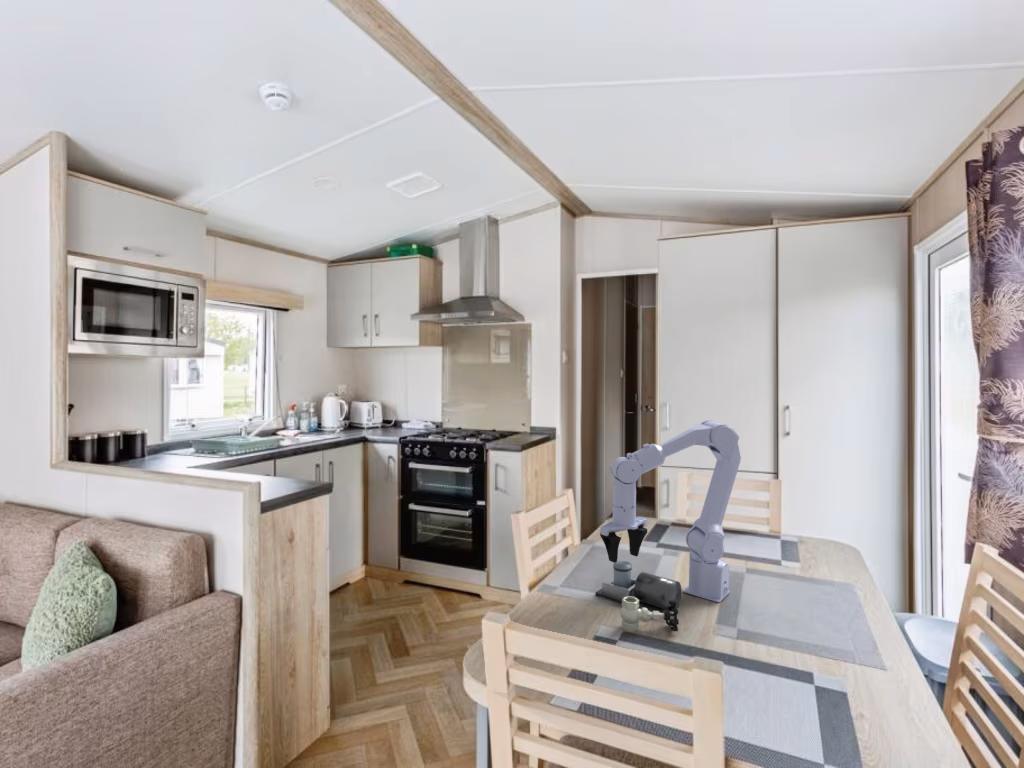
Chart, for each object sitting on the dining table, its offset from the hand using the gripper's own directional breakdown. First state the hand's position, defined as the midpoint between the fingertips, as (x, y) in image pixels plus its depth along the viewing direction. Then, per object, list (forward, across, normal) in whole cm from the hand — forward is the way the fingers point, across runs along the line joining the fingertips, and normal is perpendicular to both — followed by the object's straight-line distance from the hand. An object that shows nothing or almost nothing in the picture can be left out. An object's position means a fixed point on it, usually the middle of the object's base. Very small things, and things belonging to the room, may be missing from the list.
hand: (623, 558), depth 140 cm
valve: (+10, -8, -16) cm, 20 cm away
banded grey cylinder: (+9, 0, 0) cm, 9 cm away
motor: (+9, +1, -4) cm, 10 cm away
